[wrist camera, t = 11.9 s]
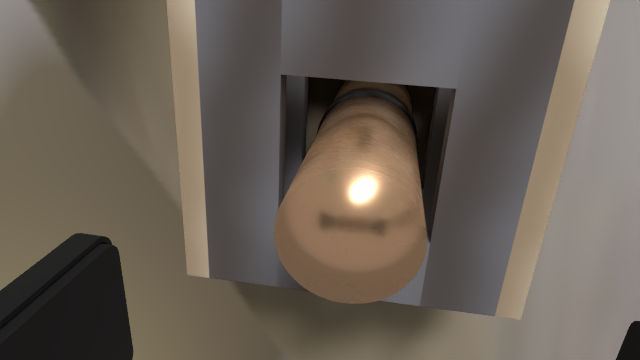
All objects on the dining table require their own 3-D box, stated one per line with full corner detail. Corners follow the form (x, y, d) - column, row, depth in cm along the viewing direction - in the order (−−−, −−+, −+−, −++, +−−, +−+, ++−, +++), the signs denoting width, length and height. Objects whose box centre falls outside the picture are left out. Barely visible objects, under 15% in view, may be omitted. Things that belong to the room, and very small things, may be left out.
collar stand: (533, -8, 22) (610, -1, 14) (483, 220, 26) (520, 319, 19) (241, -24, 23) (164, -26, 16) (244, 193, 28) (187, 274, 20)
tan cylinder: (418, 70, 24) (443, 175, 11) (407, 148, 25) (419, 316, 13) (336, 64, 24) (270, 157, 12) (331, 140, 26) (269, 296, 13)
